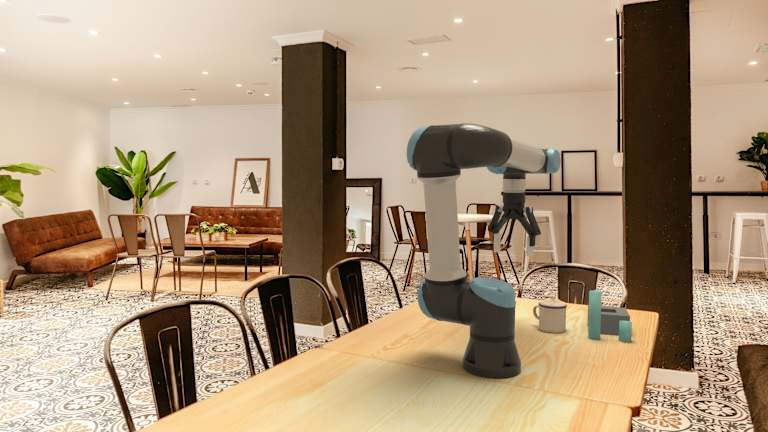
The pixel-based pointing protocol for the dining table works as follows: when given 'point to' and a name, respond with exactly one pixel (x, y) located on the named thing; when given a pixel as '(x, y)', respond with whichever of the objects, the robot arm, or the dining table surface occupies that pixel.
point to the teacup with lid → (551, 315)
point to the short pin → (625, 331)
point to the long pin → (594, 315)
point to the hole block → (611, 319)
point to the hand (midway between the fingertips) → (512, 254)
